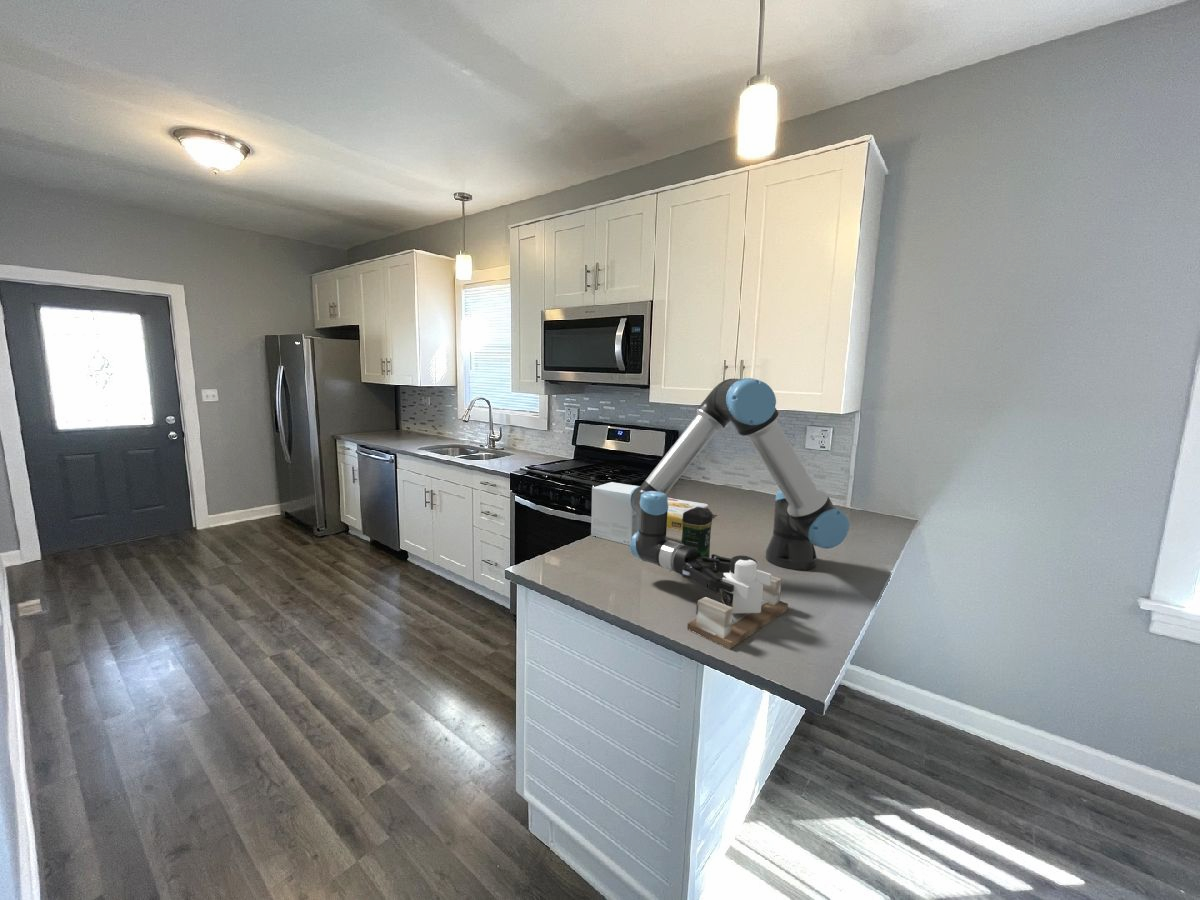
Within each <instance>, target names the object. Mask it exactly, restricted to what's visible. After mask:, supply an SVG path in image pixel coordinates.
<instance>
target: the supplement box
mask: <svg viewBox="0 0 1200 900" xmlns="http://www.w3.org/2000/svg"><path fill="white" fill-rule="evenodd" d="M639 486H640V485H634V484H633V485H632V484H625V483H618V482H613V481H611V482H607V483H604V484H600V485H597V486H593V487H592V488H591V518H590V519H591V522H590V523H591V524H590V525H591V526H590V536H591V537H595V536H596V538H600V539H603V540H607V541H611V542H616V543H619V544H624V545H628V546H630V542H631V541H632V536H633V535H634V534H635V533H636V532H638V531H639V523H640V518H639V516H638V514H637V513H636V511H634V509H633V508H632V506H631V503H630V494H631V492H632V490H633V489H635V488H636V487H639Z"/></svg>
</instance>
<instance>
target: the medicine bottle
mask: <svg viewBox="0 0 1200 900" xmlns="http://www.w3.org/2000/svg"><path fill="white" fill-rule="evenodd" d="M730 559H731V561H730V573H723V572H722V574H723V575H722V578H727V579H730V580H733V581H735V582H738V583H741V584H744V585H747V586H749V598H748V599H746V598H743V597H740V596H738V595H735V594H732V593H730V592H727V591H724V590H722V589H721V601H722V603H724V604H725V605H727V606H730V607H732V608H733V611H732V614H739V613H761V604H762V592H763V584H762V583H761V582H760V581H759V580H758V579H757V578H756V575H757V570H758V561H757V560H756V559H755V558H753V557H750V556H748V555H735V556H732V557H731V558H730Z"/></svg>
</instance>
